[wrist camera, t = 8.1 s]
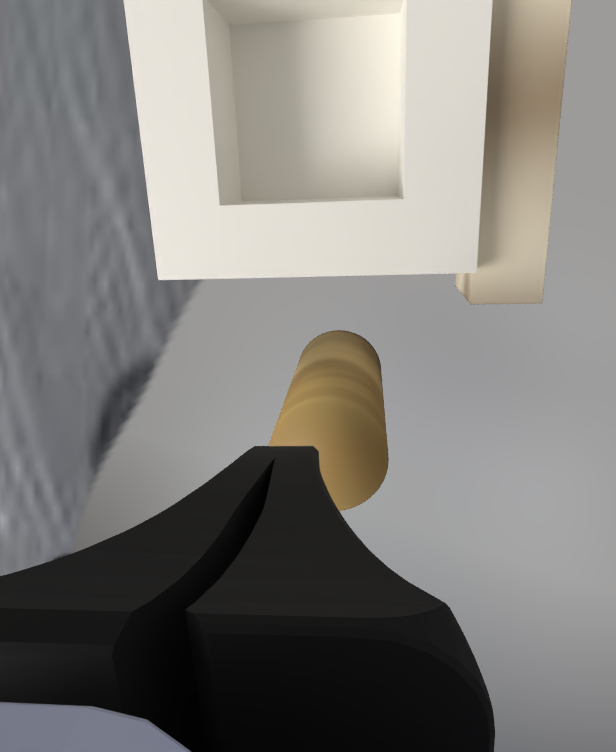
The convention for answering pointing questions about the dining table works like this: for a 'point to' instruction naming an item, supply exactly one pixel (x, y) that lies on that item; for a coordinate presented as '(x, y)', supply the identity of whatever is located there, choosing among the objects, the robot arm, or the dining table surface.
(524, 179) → the rail
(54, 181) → the dining table surface
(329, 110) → the block
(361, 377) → the dowel
